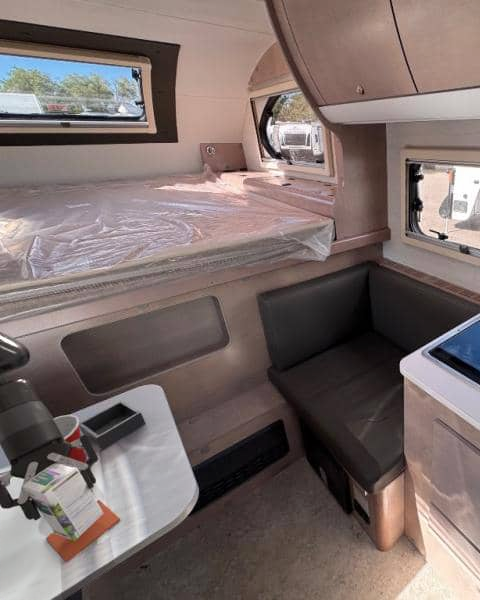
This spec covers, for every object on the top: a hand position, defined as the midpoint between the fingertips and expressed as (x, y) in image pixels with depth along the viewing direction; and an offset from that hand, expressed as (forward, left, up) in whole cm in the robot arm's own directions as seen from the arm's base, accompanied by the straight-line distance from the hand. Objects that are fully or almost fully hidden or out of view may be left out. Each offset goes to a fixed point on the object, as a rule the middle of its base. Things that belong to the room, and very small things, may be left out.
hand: (66, 502), depth 63 cm
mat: (0, +1, -10) cm, 10 cm away
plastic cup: (+6, +23, -10) cm, 26 cm away
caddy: (+17, +26, -10) cm, 33 cm away
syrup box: (0, +1, -8) cm, 8 cm away
